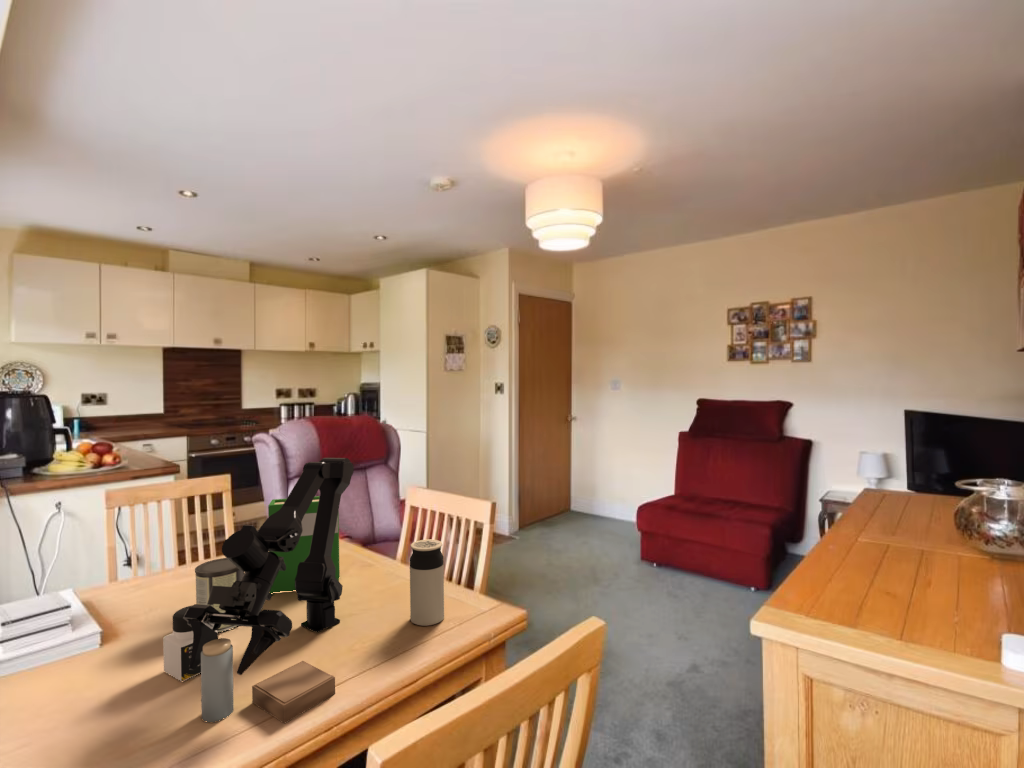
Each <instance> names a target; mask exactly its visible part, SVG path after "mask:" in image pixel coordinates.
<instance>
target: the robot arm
mask: <svg viewBox="0 0 1024 768" xmlns="http://www.w3.org/2000/svg"><path fill="white" fill-rule="evenodd" d="M302 467H303V468H302V472H301V475H299V478H298V480H297V481H296V482H295V484H294V486H293V488H292V489H291V491H290V493H289V494H288V496H287V497H286V498H285V499H286V501H285V502H284V504H283V506H282V507H281V509H280V510H279V511H277V512H275V513H274V514H272V515H271V516H269V517H267V518H266V519H265V521H264V522H263V523H262V524H261V526H260V528H259V529H258V530H257V527H256V526H254V525H251V524H243V525H242V527H241V528H240V529H239V530H238V531H236V532H234V533H231V535H230V536H228V537H227V538H226V539H225V540H224V541H223V543H222V547H221V553H222V555H223V556H224V558H227V559H228V560H230V561H231V562H232V563H233V564H234V565H235V566H236V567H237V568H238V569H239V570H241V571H243V572H244V575H243V577H242V579H241V581H235V582H234V583H233V585H232V587H226V586H212V589H211V593H210V596H209V600H208V603H207V605H199V604H193V605H190V606H191V607H189V608H188V610H187V612H186V614H185V615H184V617H183V619H185V620H186V621H188V625H189V626H190V627H192V630H193V646H192V653H191V659H190V665H189V668H190V669H191V670H195V668H196V667H197V666H198V664H199V663H200V662H201V652H202V651H203V646H204V645H205V644H206V643H208V642H210V641H212V640H215V638H216V636H217V635H218V636H219V633H216V632H215V630H217V629H218V628H220V627H221V625H222V624H223V625H235V626H238V627H247V628H248V627H249V628H251V635H250V640H249V642H248V644H247V646H246V648H245V651H244V653H243V656H242V657H241V660H240V662H239V664H238V668H237V671H236V674H237V675H239V676H242V675H243V674H244V673H245V672H246V671H247V670H248V669H249V667H251V666H252V664H253V663H254V662H255V661H257V660H258V658H259V657H261V655H263V654H264V653H265V652H266V651H267V650H268V649H269V648H270V647H271V646H272V645H274V644H275V643H276V642H280V641H281V639H282V638H288V637H290V634H291V632H292V629H293V622H292V619H291V618H289V617H288V616H287V615H286V614H285V613H284V612H283V611H282V610H279V609H278V610H275V609H265V608H264V605H265V603H266V601H271V599H272V597H273V594H271V593H270V590H271V587H272V585H273V583H274V581H275V578H276V576H277V574H278V572H279V571H285V570H286V564H285V562H284V557H278V556H277V555H276V554H275V553H273V552H290V551H293V550H294V549H295V547H296V546H297V544H298V542H299V539H300V536H301V534H302V531H303V529H302V519H303V517H304V515H305V513H306V511H307V510H308V508H309V506H310V504H311V502H312V501H313V499H314V497H315V496H316V495H317V493H318V491H319V496H320V497H319V503H318V508H317V514H316V519H315V525H314V530H313V536H312V541H311V547H310V553H309V556H308V557H307V558H306V559H305V561H304V562H300V563H299V565H298V568H297V575H296V578H295V589H296V593H295V594H296V597H297V600H298V601H299V602H301V601H303V602H306V621H303V622H301V623H300V626H301V627H303V628H305V629H308V630H309V631H312V632H314V633H320V632H322V631H324V630H326V629H328V628H330V627H333V626H335V625H337V624H339V623H340V622H341V619H339V618H337V617H336V608H335V602H336V601H339V600H340V599H341V596H342V593H343V584H342V583H341V582H340V580H339V581H338V580H337V579H336V578H335V574H336V568H335V565H334V563H333V560H332V558H331V553H332V547H333V541H334V535H335V529H336V523H337V517H338V511H339V510H340V505H341V504H340V503H341V498H342V494H343V493H345V491H346V489H348V487H349V486H350V484H351V480H352V476H353V475H354V470H355V467H354V464H353V463H352V462H351V460H350V459H349V458H348V457H323V458H321V460H319V461H308V462H306V463H305V464H304V465H303V466H302ZM269 551H272V552H269ZM213 604H220V606H219V608H220V609H222V610H225V613H220V612H219V611H217V610H216V609H215V608H213V607H212V606H211V605H213ZM263 608H264V609H263ZM262 609H263V610H262ZM231 619H234V620H231ZM235 619H236V620H235Z"/></svg>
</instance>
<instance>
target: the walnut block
mask: <svg viewBox="0 0 1024 768" xmlns="http://www.w3.org/2000/svg"><path fill="white" fill-rule="evenodd" d="M251 690H252V691H251V692H252V693H251V694H252V697H251V699H252V700H251V701H252V702H253V703H252V702H251V703H252V704H254V705H255V704H256V705H255V706H257V707H258V706H259V708H260V709H261V708H262V709H261V710H263V711H264V710H265V711H264V712H266V713H267V712H268V714H269V715H270V716H272V717H274V718H275V719H277V720H278V719H279V720H278V721H280V722H281V721H282V722H281V723H283V724H286V723H287V721H288V722H289V721H291V720H292V719H293V720H294V718H296V717H297V716H300V715H301V714H303V713H305V712H306V711H307V710H309V708H310V709H311V708H314V707H315V706H317V705H319V704H320V703H321V702H324V701H325V700H327V699H329V698H331V697H332V696H333V695H335V694H336V676H334V675H331V674H329V673H328V672H326V671H324V670H321V669H320V668H318V667H316V666H314V665H311V664H310V663H308V662H307V661H304V660H301V661H300V662H297V663H296V664H294V665H291V666H289V667H288V668H286V669H283V670H282V671H279V672H277V673H276V674H273V675H272V676H269V677H268V678H265V679H263V680H261V681H260V682H258V683H254V684H253V685H252V686H251ZM304 711H305V712H304ZM302 712H303V713H302ZM285 722H286V723H285Z"/></svg>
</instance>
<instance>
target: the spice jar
mask: <svg viewBox="0 0 1024 768" xmlns="http://www.w3.org/2000/svg"><path fill="white" fill-rule="evenodd" d="M233 649H234V647H233V644H232V642H231V639H229V638H226V637H222V638H218V639H215V640H212V641H210V642H208V643H206V644H205V645H204V646H203V651H202V652H201V674H200V692H201V693H200V694H201V697H200V701H201V702H200V703H201V704H200V706H201V720H202V719H203V720H204V721H207V722H213V723H216V722H215V721H218V722H220V721H219V720H221V719H223V718H225V719H227V718H228V717H230V716H231V715H232V714H233V712H234V709H235V708H234V650H233ZM231 713H232V714H231ZM230 714H231V715H230ZM229 715H230V716H229ZM227 716H228V717H227ZM226 717H227V718H226ZM223 720H224V719H223ZM204 721H203V722H204ZM221 721H222V720H221ZM207 722H206V723H207Z"/></svg>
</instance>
